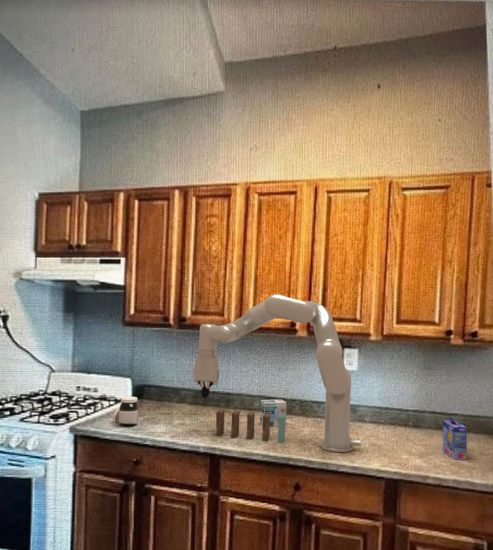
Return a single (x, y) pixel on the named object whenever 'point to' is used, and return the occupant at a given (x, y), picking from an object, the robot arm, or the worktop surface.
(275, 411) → the light bulb box
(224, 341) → the robot arm
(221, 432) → the walnut domino
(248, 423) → the walnut domino
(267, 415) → the walnut domino
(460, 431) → the ink cartridge box
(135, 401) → the spread jar
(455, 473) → the worktop surface
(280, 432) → the teal domino
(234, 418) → the walnut domino
